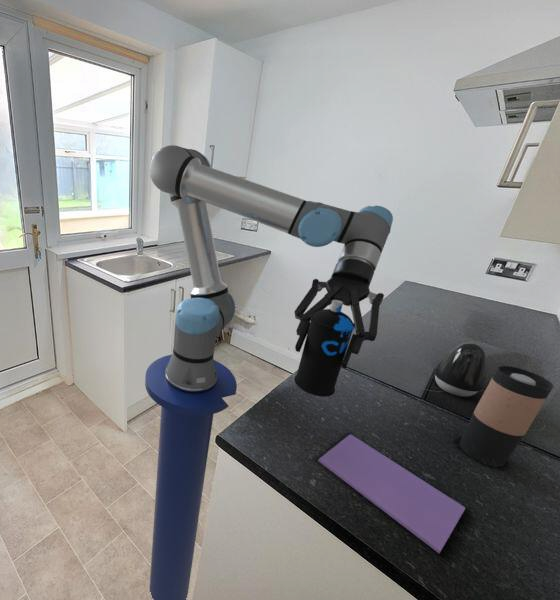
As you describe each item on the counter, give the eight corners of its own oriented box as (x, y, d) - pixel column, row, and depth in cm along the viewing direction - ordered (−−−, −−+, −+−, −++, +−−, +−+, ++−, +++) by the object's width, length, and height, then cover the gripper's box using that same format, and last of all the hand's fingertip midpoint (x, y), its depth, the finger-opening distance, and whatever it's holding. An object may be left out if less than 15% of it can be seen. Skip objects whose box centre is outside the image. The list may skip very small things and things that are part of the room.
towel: (318, 461, 64) (318, 458, 63) (349, 435, 71) (350, 433, 70) (439, 553, 48) (440, 551, 48) (464, 510, 55) (465, 507, 55)
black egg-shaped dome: (426, 389, 89) (447, 342, 84) (432, 375, 96) (451, 331, 90) (475, 407, 82) (500, 358, 77) (477, 392, 89) (501, 345, 83)
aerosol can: (286, 377, 71) (306, 296, 64) (313, 371, 74) (335, 292, 67) (315, 400, 64) (341, 311, 56) (343, 392, 67) (371, 307, 59)
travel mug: (452, 434, 73) (489, 361, 65) (495, 447, 70) (539, 372, 62) (465, 458, 66) (508, 380, 59) (513, 474, 63) (565, 393, 56)
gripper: (409, 287, 66) (377, 384, 60) (306, 267, 78) (271, 345, 72) (418, 267, 60) (383, 372, 54) (305, 248, 72) (267, 333, 66)
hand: (319, 357), depth 63 cm, fingers closed on aerosol can, 8 cm apart
